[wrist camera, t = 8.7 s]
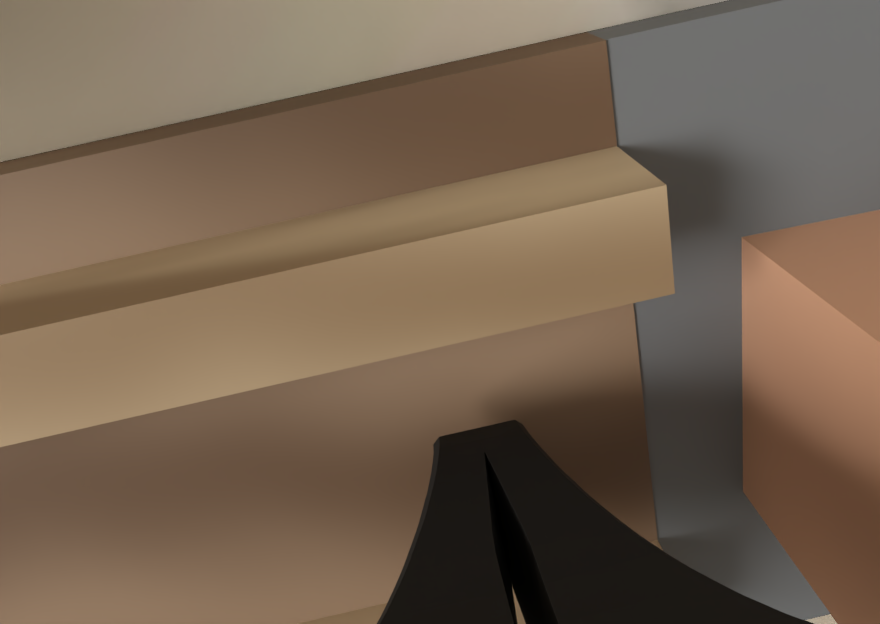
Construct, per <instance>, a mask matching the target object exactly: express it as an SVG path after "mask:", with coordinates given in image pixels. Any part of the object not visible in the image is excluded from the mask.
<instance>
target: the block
mask: <svg viewBox="0 0 880 624" xmlns="http://www.w3.org/2000/svg"><path fill="white" fill-rule="evenodd" d="M742 403H743V492H744V494H745V495H746V496H747V498H748V499H749V501H750V502H751V503H752V505H753V506H754V508H755V509H756V510H757V512H758V513H759V515H760V516H761V517H762V519H763V520H764V522H765V523H766V524H767V526H768V527H769V529H770V530H771V531H772V533H773V534H774V536H775V537H776V538H777V540H778V541H779V542H780V544H781V545H782V547H783V548H784V549H785V551H786V552H787V554H788V555H789V556H790V558H791V559H792V561H793V562H794V563H795V565H796V566H797V568H798V569H799V570H800V572H801V573H802V575H803V576H804V577H805V579H806V580H807V582H808V583H809V584H810V586H811V587H812V589H813V590H814V591H815V593H816V594H817V596H818V597H819V598H820V600H821V601H822V602H823V604H824V605H825V607H826V608H827V609H828V611H829V612H830V614H831V615H832V616H833V618H834V619H835V621H836V622H837V623H838V624H880V210H876V211H870V212H865V213H860V214H855V215H850V216H845V217H840V218H835V219H830V220H825V221H820V222H815V223H810V224H805V225H800V226H795V227H790V228H785V229H780V230H775V231H770V232H765V233H760V234H755V235H750V236H745V237H742Z"/></svg>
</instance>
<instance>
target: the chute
mask: <svg viewBox="0 0 880 624" xmlns="http://www.w3.org/2000/svg"><path fill="white" fill-rule="evenodd" d="M671 294H675V288H674V275H673V263H672V250H671V237H670V224H669V211H668V198H667V186H666V184H665V183H663V182H662V181H661V180H660V179H658V178H657V177H656V176H654V175H653V174H652V173H651V172H649V171H648V170H647V169H645V168H644V167H643V166H642V165H640V164H639V163H638V162H636V161H635V160H634V159H633V158H631V157H630V156H629V155H628V154H626V153H625V152H624V151H622V150H621V149H620V148H619V147H617V141H616V131H615V122H614V112H613V102H612V93H611V83H610V73H609V64H608V54H607V44H606V40H604V39H602V38H599V37H597V36H595V35H592V34H590V33H587V32H585V33H580V34H576V35H571V36H567V37H562V38H558V39H553V40H549V41H544V42H540V43H535V44H531V45H526V46H522V47H517V48H513V49H508V50H504V51H499V52H495V53H490V54H486V55H481V56H477V57H472V58H468V59H463V60H459V61H454V62H450V63H445V64H441V65H436V66H432V67H427V68H423V69H418V70H414V71H409V72H405V73H400V74H396V75H391V76H387V77H382V78H378V79H373V80H369V81H364V82H360V83H355V84H351V85H346V86H342V87H338V88H333V89H329V90H324V91H320V92H315V93H311V94H306V95H302V96H297V97H293V98H288V99H284V100H279V101H275V102H270V103H266V104H261V105H257V106H252V107H248V108H243V109H239V110H234V111H230V112H225V113H221V114H216V115H212V116H207V117H203V118H198V119H194V120H189V121H185V122H180V123H176V124H171V125H167V126H162V127H158V128H153V129H149V130H144V131H140V132H135V133H131V134H126V135H122V136H117V137H113V138H108V139H104V140H99V141H95V142H90V143H86V144H81V145H77V146H72V147H68V148H63V149H59V150H54V151H50V152H45V153H41V154H36V155H32V156H27V157H23V158H18V159H14V160H9V161H5V162H0V624H377V622H378V620H379V619H380V617H381V615H382V613H383V611H384V609H385V607H386V605H387V602H388V600H389V598H390V596H391V594H392V592H393V590H394V588H395V585H396V583H397V581H398V578H399V576H400V574H401V571H402V569H403V566H404V564H405V561H406V558H407V555H408V553H409V550H410V547H411V544H412V542H413V539H414V536H415V533H416V530H417V527H418V524H419V520H420V517H421V513H422V509H423V506H424V502H425V498H426V495H427V491H428V486H429V481H430V476H431V471H432V464H433V453H434V449H433V444H434V443H435V442H436V440H437V439H438V438H439V437H440V436H444V435H449V434H453V433H458V432H462V431H467V430H471V429H475V428H480V427H484V426H489V425H493V424H497V423H502V422H506V421H511V420H517V421H518V422H520V423H521V424H523V425H524V427H525V428H526V430H527V431H528V432H529V434H530V435H531V436H532V437H533V439H534V440H535V441H536V442H537V443H538V444H539V446H540V447H541V448H542V449H543V450H544V451H545V452H546V453H547V454H548V456H549V457H550V458H551V459H552V460H553V461H554V462H555V463H556V464H557V465H558V466H559V467H560V468H561V469H562V470H563V471H564V472H565V473H566V474H567V475H568V476H569V477H570V478H571V479H572V480H574V481H575V482H576V483H577V484H578V485H579V486H580V487H581V488H582V489H583V490H584V491H585V492H586V493H588V494H589V495H590V496H591V497H592V498H593V499H594V500H596V501H597V502H598V503H599V504H600V505H601V506H603V507H604V508H605V509H606V510H608V511H609V512H610V513H611V514H613V515H614V516H615V517H616V518H618V519H619V520H620V521H621V522H623V523H624V524H625V525H627V526H628V527H629V528H631V529H632V530H633V531H635V532H636V533H638V534H639V535H640V536H642V537H643V538H645V539H646V540H648V541H649V542H651V543H652V544H654V545H655V546H657V547H658V548H660V549H661V550H663V549H662V547H661V545H660V544H659V542H658V538H657V529H656V519H655V509H654V499H653V490H652V480H651V470H650V461H649V451H648V441H647V432H646V422H645V412H644V403H643V393H642V383H641V374H640V364H639V354H638V345H637V335H636V325H635V315H634V306H633V303H636V302H640V301H645V300H649V299H654V298H658V297H662V296H667V295H671ZM512 589H513V587H512ZM513 596H514V603H515V610H516V617H517V623H518V624H526V623H525V620H524V617H523V615H522V612H521V609H520V606H519V604H518V601H517V598H516V595H515V593H514V590H513Z"/></svg>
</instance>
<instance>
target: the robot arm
mask: <svg viewBox="0 0 880 624" xmlns="http://www.w3.org/2000/svg"><path fill="white" fill-rule="evenodd" d="M433 449H434V453H433V464H432V471H431V476H430V481H429V486H428V491H427V495H426V498H425V502H424V506H423V509H422V513H421V517H420V520H419V524H418V527H417V530H416V533H415V536H414V539H413V542H412V544H411V547H410V550H409V553H408V555H407V558H406V561H405V564H404V566H403V569H402V571H401V574H400V576H399V578H398V581H397V583H396V585H395V588H394V590H393V592H392V594H391V596H390V598H389V600H388V602H387V605H386V607H385V609H384V611H383V613H382V615H381V617H380V619H379V620H378V622H377V624H518V623H517V617H516V610H515V603H514V596H513V590H514V593H515V595H516V598H517V601H518V604H519V606H520V609H521V612H522V615H523V617H524V620H525V623H526V624H813V623H810V622H808V621H805V620H802V619H799V618H796V617H793V616H791V615H788V614H786V613H783V612H781V611H779V610H776V609H774V608H772V607H769V606H767V605H765V604H762V603H760V602H758V601H756V600H753V599H751V598H749V597H746V596H744V595H742V594H740V593H738V592H736V591H734V590H732V589H730V588H728V587H726V586H724V585H722V584H720V583H718V582H717V581H715V580H713V579H711V578H709V577H707V576H705V575H703V574H701V573H699V572H697V571H696V570H694V569H692V568H690V567H688V566H687V565H685V564H684V563H682V562H680V561H679V560H677V559H675V558H674V557H672V556H670V555H669V554H667V553H666V552H664V551H663V550H661V549H660V548H658V547H657V546H655V545H654V544H652V543H651V542H649V541H648V540H646V539H645V538H643V537H642V536H640V535H639V534H638V533H636V532H635V531H633V530H632V529H631V528H629V527H628V526H627V525H625V524H624V523H623V522H621V521H620V520H619V519H618V518H616V517H615V516H614V515H613V514H611V513H610V512H609V511H608V510H606V509H605V508H604V507H603V506H601V505H600V504H599V503H598V502H597V501H596V500H594V499H593V498H592V497H591V496H590V495H589V494H588V493H586V492H585V491H584V490H583V489H582V488H581V487H580V486H579V485H578V484H577V483H576V482H575V481H574V480H572V479H571V478H570V477H569V476H568V475H567V474H566V473H565V472H564V471H563V470H562V469H561V468H560V467H559V466H558V465H557V464H556V463H555V462H554V461H553V460H552V459H551V458H550V457H549V456H548V454H547V453H546V452H545V451H544V450H543V449H542V448H541V447H540V446H539V444H538V443H537V442H536V441H535V440H534V439H533V437H532V436H531V435H530V434H529V432H528V431H527V430H526V428H525V427H524V425H523V424H521V423H520V422H518V421H517V420H511V421H506V422H502V423H497V424H493V425H489V426H484V427H480V428H475V429H471V430H467V431H462V432H458V433H453V434H449V435H444V436H440V437H439V438H438V439H437V440H436V442H435V443H434V444H433ZM512 587H513V589H512Z"/></svg>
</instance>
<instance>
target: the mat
mask: <svg viewBox="0 0 880 624" xmlns="http://www.w3.org/2000/svg"><path fill="white" fill-rule="evenodd" d="M587 33H590V34H592V35H595V36H597V37H599V38H602V39H604V40H606V44H607V54H608V64H609V73H610V83H611V93H612V102H613V112H614V122H615V131H616V141H617V147H619V148H620V149H621V150H622V151H624V152H625V153H626V154H628V155H629V156H630V157H631V158H633V159H634V160H635V161H636V162H638V163H639V164H640V165H642V166H643V167H644V168H645V169H647V170H648V171H649V172H651V173H652V174H653V175H654V176H656V177H657V178H658V179H660V180H661V181H662V182H663V183H665V184H666V186H667V198H668V211H669V224H670V237H671V250H672V263H673V275H674V288H675V294H671V295H667V296H662V297H658V298H654V299H649V300H645V301H640V302H636V303H633V306H634V315H635V325H636V335H637V345H638V354H639V364H640V374H641V383H642V393H643V403H644V412H645V422H646V432H647V441H648V451H649V461H650V470H651V480H652V490H653V499H654V509H655V519H656V529H657V538H658V542H659V544H660V545H661V547H662V549H663V551H664V552H666V553H667V554H669V555H670V556H672V557H674V558H675V559H677V560H679V561H680V562H682V563H684V564H685V565H687V566H688V567H690V568H692V569H694V570H696V571H697V572H699V573H701V574H703V575H705V576H707V577H709V578H711V579H713V580H715V581H717V582H718V583H720V584H722V585H724V586H726V587H728V588H730V589H732V590H734V591H736V592H738V593H740V594H742V595H744V596H746V597H749V598H751V599H753V600H756V601H758V602H760V603H762V604H765V605H767V606H769V607H772V608H774V609H776V610H779V611H781V612H783V613H786V614H788V615H791V616H793V617H796V618H799V619H802V620H807V619H811V618H815V617H820V616H824V615H828V614H830V612H829V611H828V609H827V608H826V607H825V605H824V604H823V602H822V601H821V600H820V598H819V597H818V596H817V594H816V593H815V591H814V590H813V589H812V587H811V586H810V584H809V583H808V582H807V580H806V579H805V577H804V576H803V575H802V573H801V572H800V570H799V569H798V568H797V566H796V565H795V563H794V562H793V561H792V559H791V558H790V556H789V555H788V554H787V552H786V551H785V549H784V548H783V547H782V545H781V544H780V542H779V541H778V540H777V538H776V537H775V536H774V534H773V533H772V531H771V530H770V529H769V527H768V526H767V524H766V523H765V522H764V520H763V519H762V517H761V516H760V515H759V513H758V512H757V510H756V509H755V508H754V506H753V505H752V503H751V502H750V501H749V499H748V498H747V496H746V495H745V494H744V492H743V403H742V237H745V236H750V235H755V234H760V233H765V232H770V231H775V230H780V229H785V228H790V227H795V226H800V225H805V224H810V223H815V222H820V221H825V220H830V219H835V218H840V217H845V216H850V215H855V214H860V213H865V212H870V211H876V210H880V0H729V1H724V2H719V3H715V4H711V5H706V6H702V7H697V8H693V9H688V10H684V11H679V12H675V13H670V14H666V15H661V16H657V17H652V18H648V19H643V20H639V21H634V22H630V23H625V24H621V25H616V26H612V27H607V28H603V29H598V30H594V31H589V32H587Z"/></svg>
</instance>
